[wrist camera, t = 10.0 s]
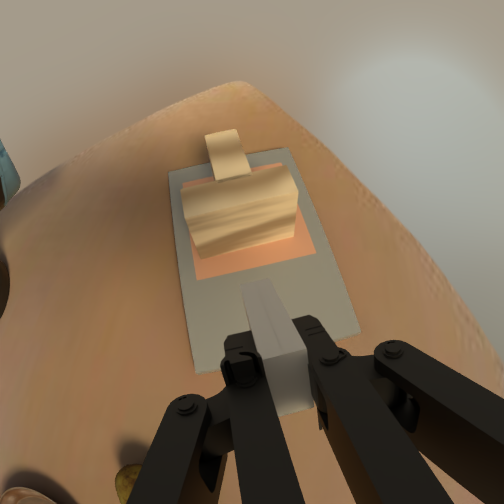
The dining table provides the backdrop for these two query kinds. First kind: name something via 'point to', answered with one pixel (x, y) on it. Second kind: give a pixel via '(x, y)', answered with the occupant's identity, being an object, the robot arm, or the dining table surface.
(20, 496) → the plant saucer
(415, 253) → the dining table surface
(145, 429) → the dining table surface
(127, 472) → the potato
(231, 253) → the board
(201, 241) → the t block
